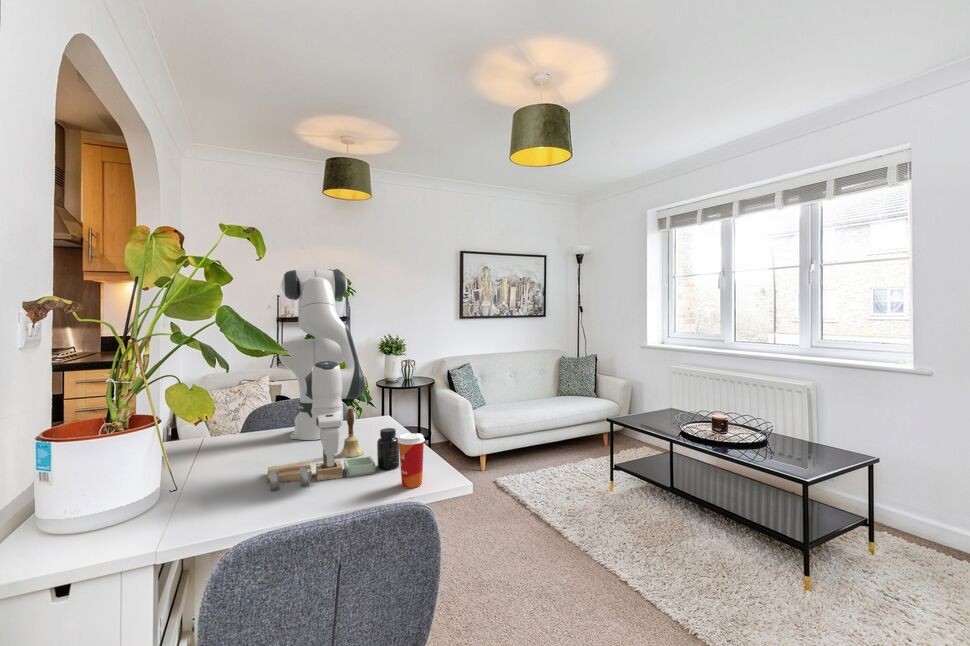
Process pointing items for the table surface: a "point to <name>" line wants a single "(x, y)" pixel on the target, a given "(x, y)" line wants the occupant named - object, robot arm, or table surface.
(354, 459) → the tray
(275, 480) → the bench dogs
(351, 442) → the hand bell
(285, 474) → the curved tan panel
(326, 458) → the dowel
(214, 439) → the table surface
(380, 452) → the supplement bottle
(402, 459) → the paper cup
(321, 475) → the socket block
